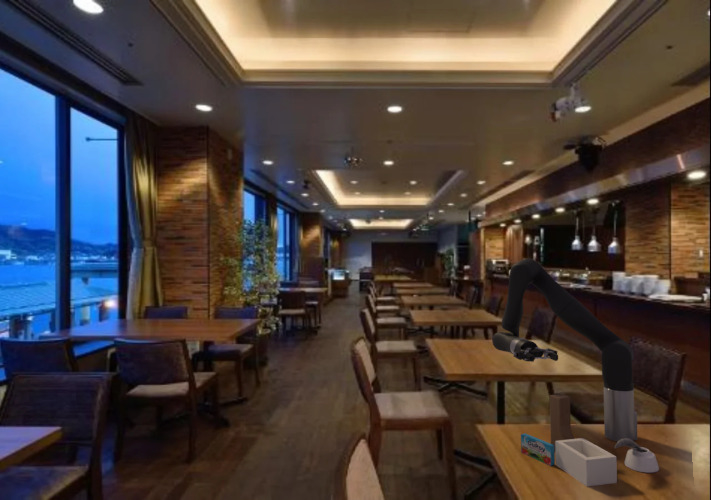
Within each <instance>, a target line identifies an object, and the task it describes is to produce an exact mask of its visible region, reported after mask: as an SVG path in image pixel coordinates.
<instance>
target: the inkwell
mask: <svg viewBox="0 0 711 500" xmlns="http://www.w3.org/2000/svg"><path fill="white" fill-rule="evenodd" d="M613 447H614V449H618V448H620V447H621V448H623V447H627V448H629V449H628V450H627V452H626V454H625V458H624V465H625V467H627V468H628V469H630V470H632V471H636V472H638V473H639V472H640V473H647V474H648V473H649V474H650V473H657V472H659V470H660V467H659V464H658V463H659V462H658V461H657V457H656V454H655V453H654V452H652V451H650V450H649V449H648V448H647V447H643V446H640V445H639V444H637V443H636V442H635V440H634V441H632V440H631V439H628V438H624V439H621V440H619V441H616V444H615V445H614V446H613Z"/></svg>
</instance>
